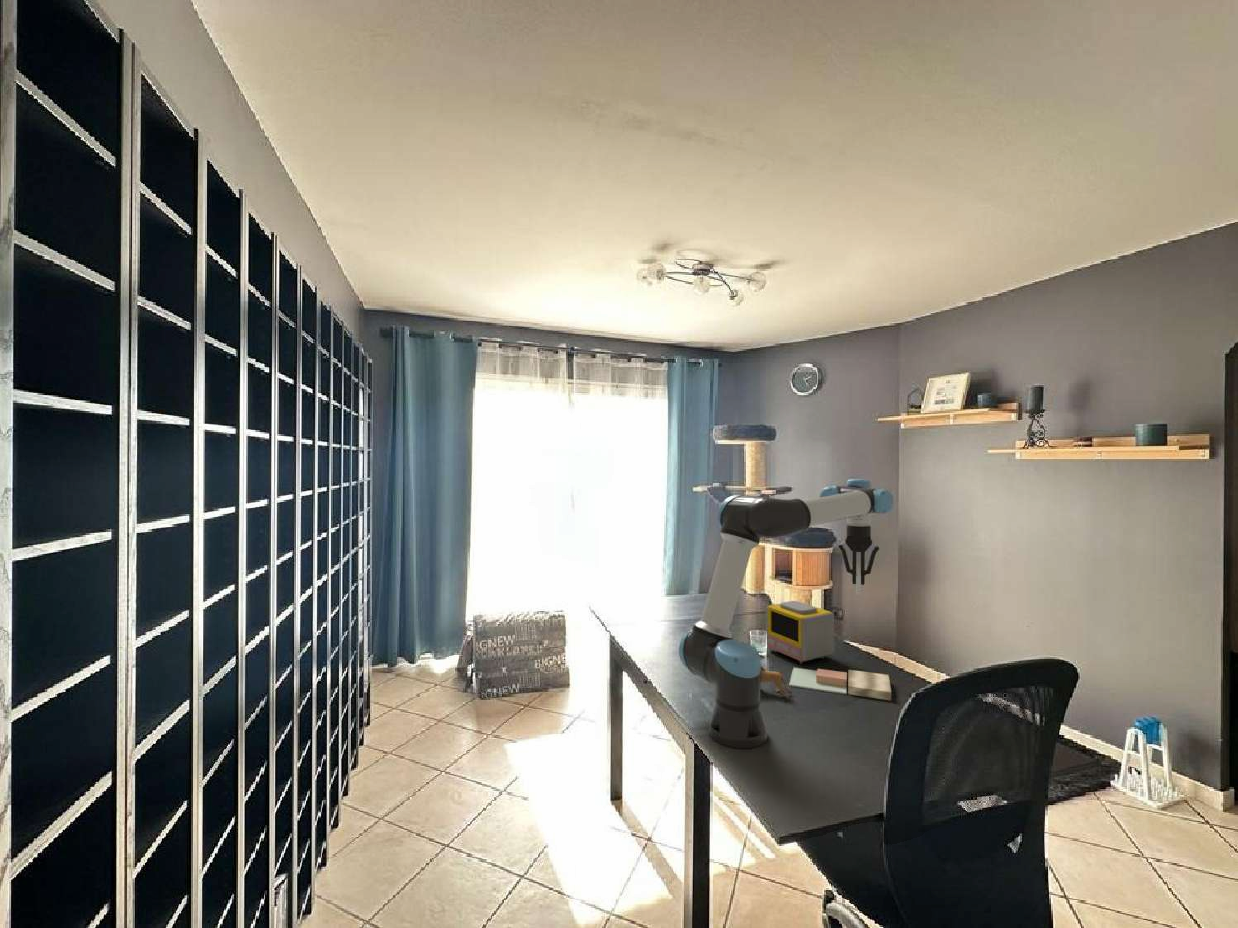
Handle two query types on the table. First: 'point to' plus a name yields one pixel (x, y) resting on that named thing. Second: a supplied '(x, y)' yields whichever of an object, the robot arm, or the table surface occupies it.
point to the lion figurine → (774, 680)
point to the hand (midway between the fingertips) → (858, 593)
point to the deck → (869, 684)
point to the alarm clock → (800, 630)
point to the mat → (812, 681)
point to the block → (831, 677)
